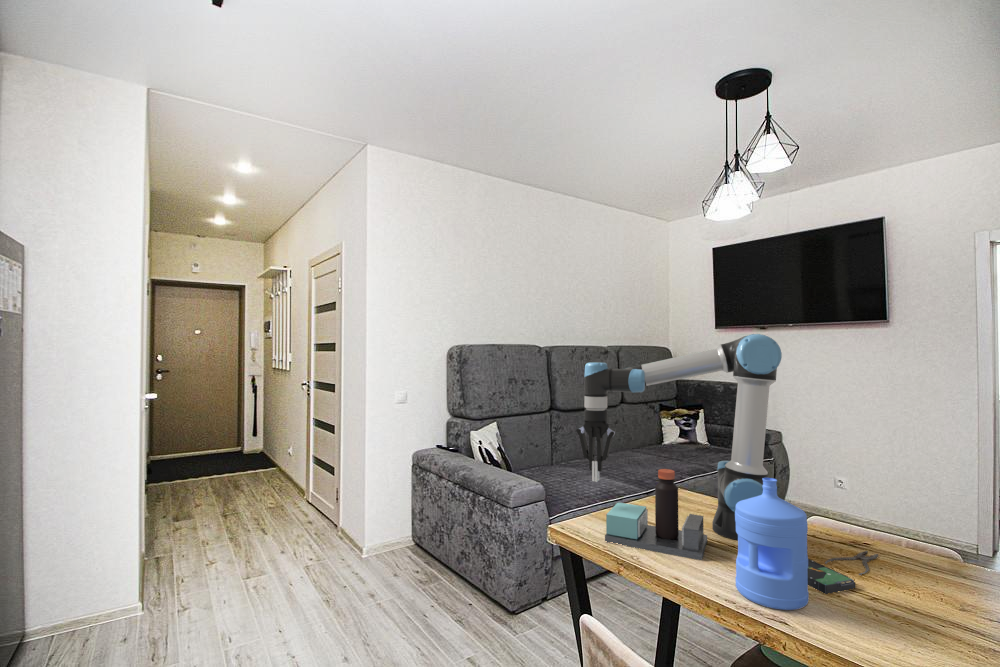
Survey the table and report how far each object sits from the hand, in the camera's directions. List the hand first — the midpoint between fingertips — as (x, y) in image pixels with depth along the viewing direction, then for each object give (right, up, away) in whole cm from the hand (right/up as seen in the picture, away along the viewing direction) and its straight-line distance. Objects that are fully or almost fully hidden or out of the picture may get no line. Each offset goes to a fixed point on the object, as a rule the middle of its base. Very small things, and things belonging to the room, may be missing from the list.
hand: (595, 480), depth 163 cm
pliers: (+69, -17, -22) cm, 74 cm away
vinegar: (+20, -14, -10) cm, 27 cm away
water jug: (+34, -15, -43) cm, 57 cm away
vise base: (+17, -16, -10) cm, 25 cm away
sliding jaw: (+9, -14, -5) cm, 18 cm away
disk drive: (+51, -16, -34) cm, 63 cm away
